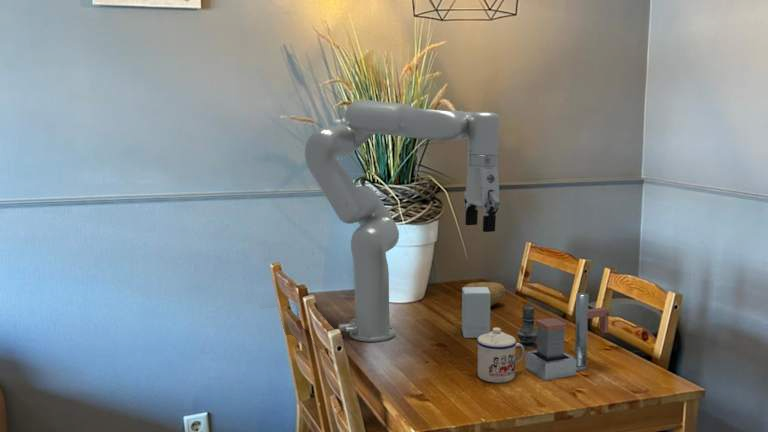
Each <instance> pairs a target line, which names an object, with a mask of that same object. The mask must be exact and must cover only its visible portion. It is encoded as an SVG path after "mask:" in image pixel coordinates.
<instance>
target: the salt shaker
mask: <svg viewBox="0 0 768 432" xmlns="http://www.w3.org/2000/svg"><path fill="white" fill-rule="evenodd" d="M520 320H521V322H522V323H521V325H522V326H521V329H518V330H517V331H516V334H517V337H518V339H519V341H520V342H518V343H519V344H521V345H522V346H523V347H524V350H533V349H537V329H535V320H536V318H535V308H534V306H533V305H531V303H530V301H528V302H527V304H526V305H523V307H522V317H521V318H520ZM517 347H518V348H520V347H519V346H517Z"/></svg>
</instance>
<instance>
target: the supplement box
mask: <svg viewBox="0 0 768 432" xmlns="http://www.w3.org/2000/svg"><path fill="white" fill-rule="evenodd" d="M461 292H462V293H461V330H462V335H463V338H467V339H468V338H469V339H470V338H471V339H474V338H476V339H478V337H479V336H481V335H483V334H487V333H489V332H491V306H490V295H491V293H490V291H489V289H488V287H464V286H462V289H461Z"/></svg>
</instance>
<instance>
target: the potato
mask: <svg viewBox="0 0 768 432" xmlns="http://www.w3.org/2000/svg"><path fill="white" fill-rule="evenodd" d="M463 287H488V289H489V291H490V293H491V295H490V307H492V306H494V305H495V304H498V303H499V302H500V301H501V300H502V299H503V298H504V296H505V292H506V288H505V286H504V285H503V284H502V283H499V282H495V281H493V282H492V281H490V282H488V281H480V282H472V283H471V282H470V283H467V284H465V285H464V286H463Z"/></svg>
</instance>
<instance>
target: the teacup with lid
mask: <svg viewBox="0 0 768 432" xmlns="http://www.w3.org/2000/svg"><path fill="white" fill-rule="evenodd" d="M516 340H517V339H516V338H515V337H514V336H512V335H510V334H508V333H505V332H504V331H502V329H501V328H500V327H493V328H492V331H491V330H490V332H489V333H487V334H483V335H481V336H479V337H478V338H477V339H476V344H477V376H478V378H479V379H480V380H483V381H485V382H489V383H493V384H495V383H498V384H499V383H500V384H501V383H507V382H511V381H512V380H514V378H515V377H516V364H518V363H519V362H521V361H522V359H523V358H524V356H525V349H524V347H523V346H522V345H521V344H519V343H520V342H517V341H516ZM518 346H519V347H518ZM516 347H518V348H519V354H518V355H517V357H516Z"/></svg>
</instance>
